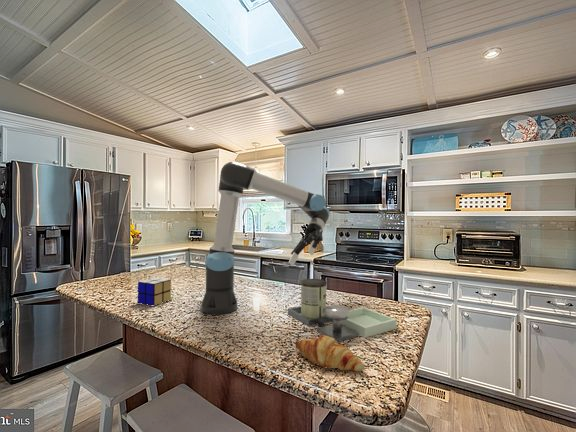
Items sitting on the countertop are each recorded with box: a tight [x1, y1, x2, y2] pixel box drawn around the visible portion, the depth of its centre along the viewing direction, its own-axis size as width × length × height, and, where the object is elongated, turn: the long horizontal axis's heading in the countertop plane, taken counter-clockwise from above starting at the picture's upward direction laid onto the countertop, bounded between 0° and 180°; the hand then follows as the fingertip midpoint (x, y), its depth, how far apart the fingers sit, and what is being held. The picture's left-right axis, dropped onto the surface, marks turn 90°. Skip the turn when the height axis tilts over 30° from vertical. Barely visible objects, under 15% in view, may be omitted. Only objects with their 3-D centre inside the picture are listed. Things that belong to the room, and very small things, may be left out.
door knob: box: [316, 304, 359, 342], centre depth 101 cm, size 10×15×9 cm, turn 31°
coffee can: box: [300, 278, 328, 319], centre depth 115 cm, size 10×10×14 cm
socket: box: [287, 306, 333, 327], centre depth 115 cm, size 15×15×2 cm
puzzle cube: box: [137, 277, 172, 306], centre depth 131 cm, size 10×10×10 cm
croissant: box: [294, 334, 365, 372], centre depth 80 cm, size 21×10×8 cm, turn 57°
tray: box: [342, 306, 398, 339], centre depth 106 cm, size 16×16×3 cm
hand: (300, 258), depth 125 cm, fingers open, 13 cm apart
